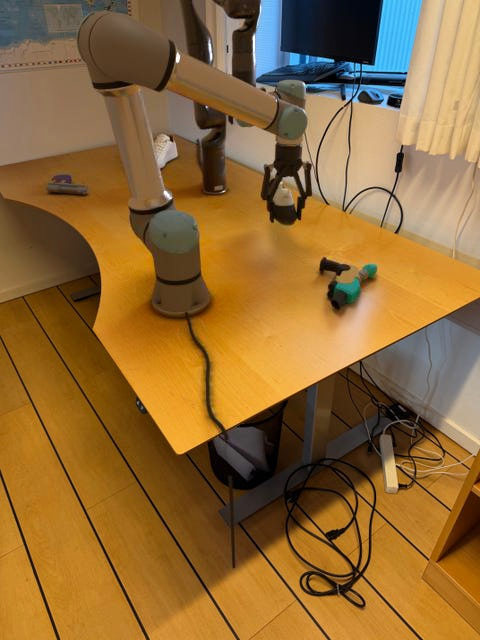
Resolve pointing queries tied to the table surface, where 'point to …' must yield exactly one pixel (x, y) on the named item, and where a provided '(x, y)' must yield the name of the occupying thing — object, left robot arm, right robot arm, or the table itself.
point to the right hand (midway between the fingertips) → (244, 123)
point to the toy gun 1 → (65, 185)
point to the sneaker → (165, 149)
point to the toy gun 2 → (345, 281)
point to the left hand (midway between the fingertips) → (285, 219)
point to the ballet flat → (283, 205)
